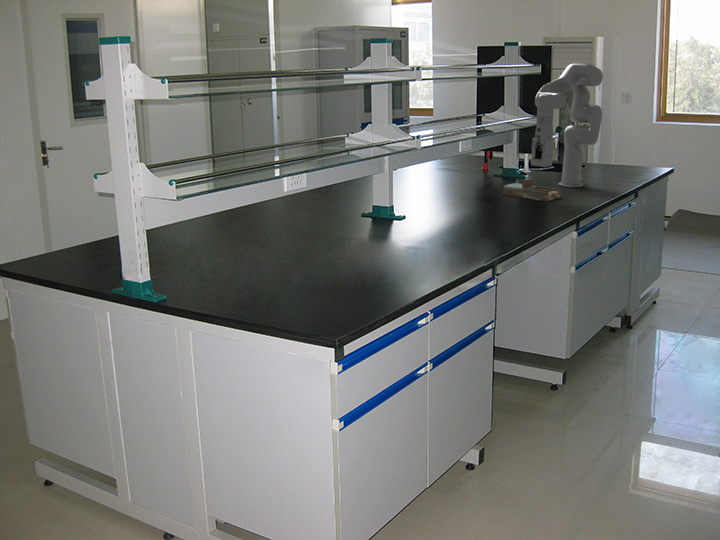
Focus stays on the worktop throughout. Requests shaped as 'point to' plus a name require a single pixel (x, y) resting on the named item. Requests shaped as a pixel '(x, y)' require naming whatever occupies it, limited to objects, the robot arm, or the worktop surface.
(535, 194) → the sliding lid wooden box
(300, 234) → the worktop surface
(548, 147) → the small box
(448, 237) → the worktop surface
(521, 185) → the lid
